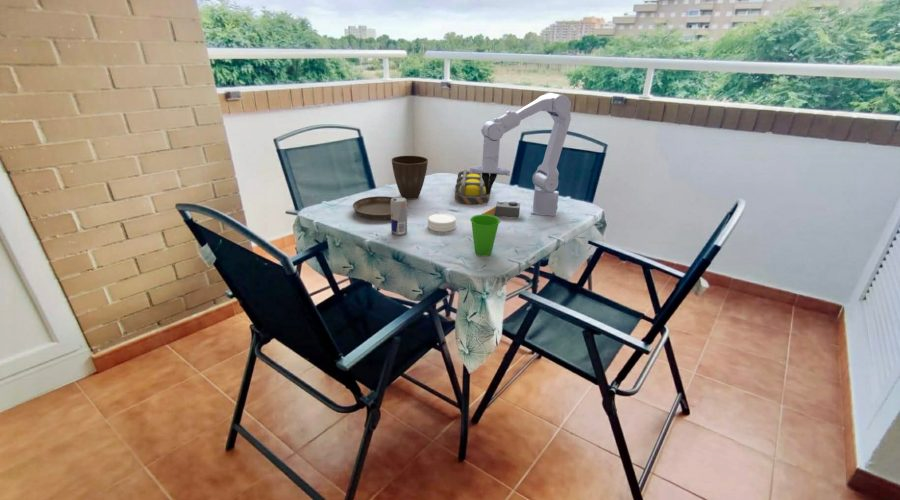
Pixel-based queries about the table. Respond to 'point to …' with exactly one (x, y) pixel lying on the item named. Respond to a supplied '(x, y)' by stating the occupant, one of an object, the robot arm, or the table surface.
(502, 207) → the camera body
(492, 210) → the wooden matchstick
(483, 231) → the cup
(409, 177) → the plant pot
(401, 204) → the energy drink
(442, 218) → the white round disc
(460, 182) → the cage light
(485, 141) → the robot arm
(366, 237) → the table surface
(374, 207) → the plant saucer
